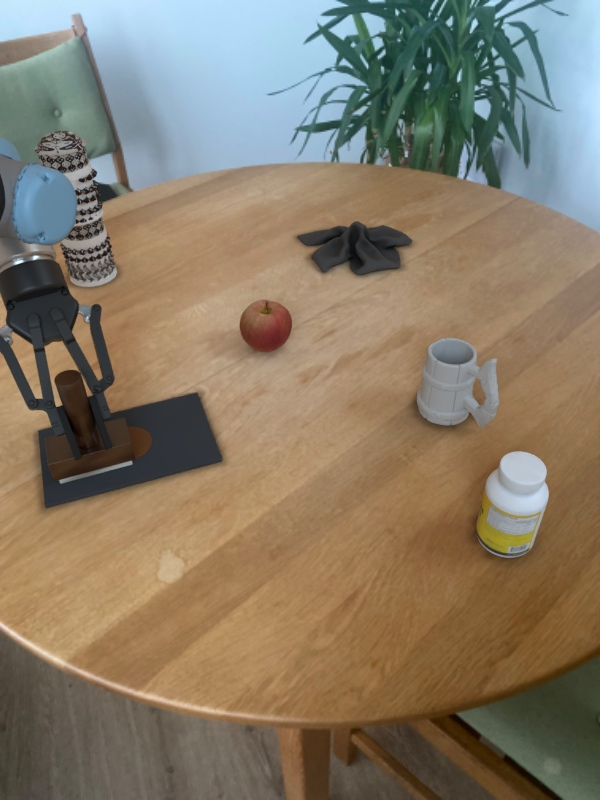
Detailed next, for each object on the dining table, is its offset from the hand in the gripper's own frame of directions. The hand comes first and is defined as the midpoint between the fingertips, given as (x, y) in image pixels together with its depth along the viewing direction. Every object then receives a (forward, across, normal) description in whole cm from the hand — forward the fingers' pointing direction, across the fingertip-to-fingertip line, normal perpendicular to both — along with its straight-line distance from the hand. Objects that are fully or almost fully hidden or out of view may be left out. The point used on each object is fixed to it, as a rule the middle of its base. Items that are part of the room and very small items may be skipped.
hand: (93, 453), depth 80 cm
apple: (-8, -30, -16) cm, 35 cm away
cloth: (-21, -58, -30) cm, 68 cm away
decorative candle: (-32, -12, -41) cm, 53 cm away
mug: (+12, -46, +3) cm, 48 cm away
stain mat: (0, -5, -8) cm, 9 cm away
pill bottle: (+25, -38, +17) cm, 49 cm away
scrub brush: (+1, 0, -6) cm, 6 cm away
